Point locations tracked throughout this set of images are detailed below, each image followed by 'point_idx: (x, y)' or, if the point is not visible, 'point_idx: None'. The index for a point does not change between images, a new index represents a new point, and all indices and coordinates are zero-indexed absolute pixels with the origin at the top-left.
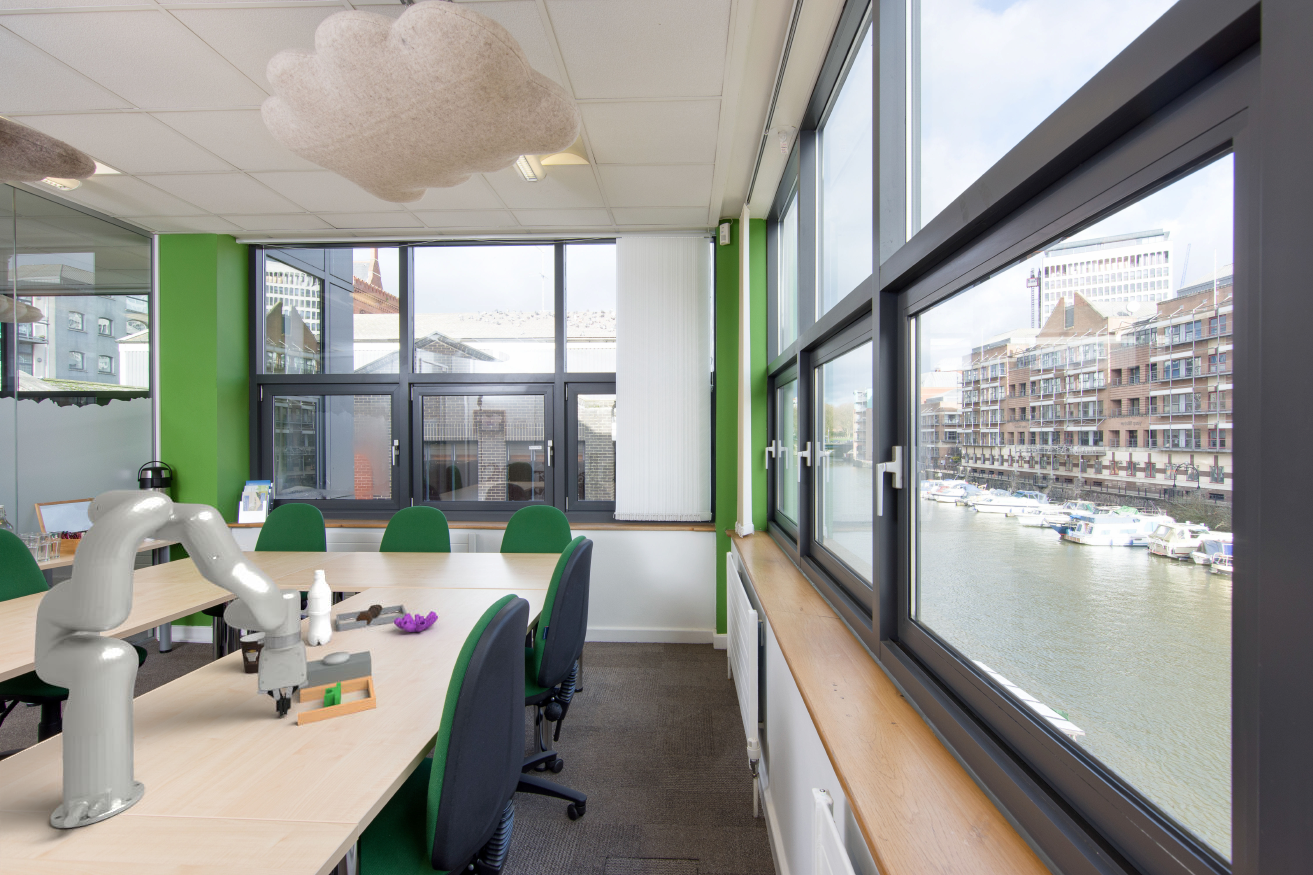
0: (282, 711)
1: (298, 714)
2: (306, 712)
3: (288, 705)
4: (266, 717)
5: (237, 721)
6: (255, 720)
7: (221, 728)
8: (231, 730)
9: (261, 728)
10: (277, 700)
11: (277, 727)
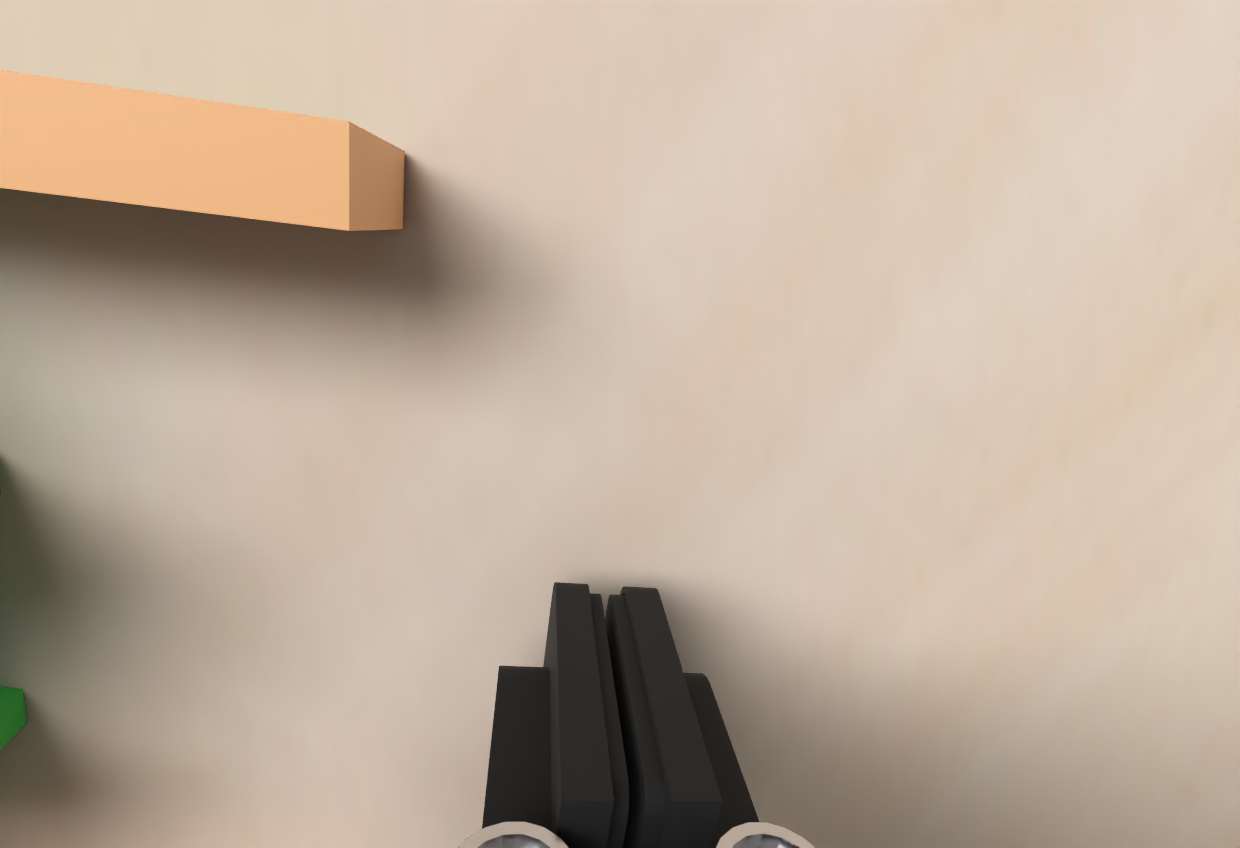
0: (618, 624)
1: (332, 148)
2: (148, 144)
3: (525, 704)
4: (768, 709)
5: (1023, 767)
6: (879, 694)
7: (1177, 684)
8: (1128, 574)
9: (868, 412)
10: (739, 835)
11: (690, 298)
